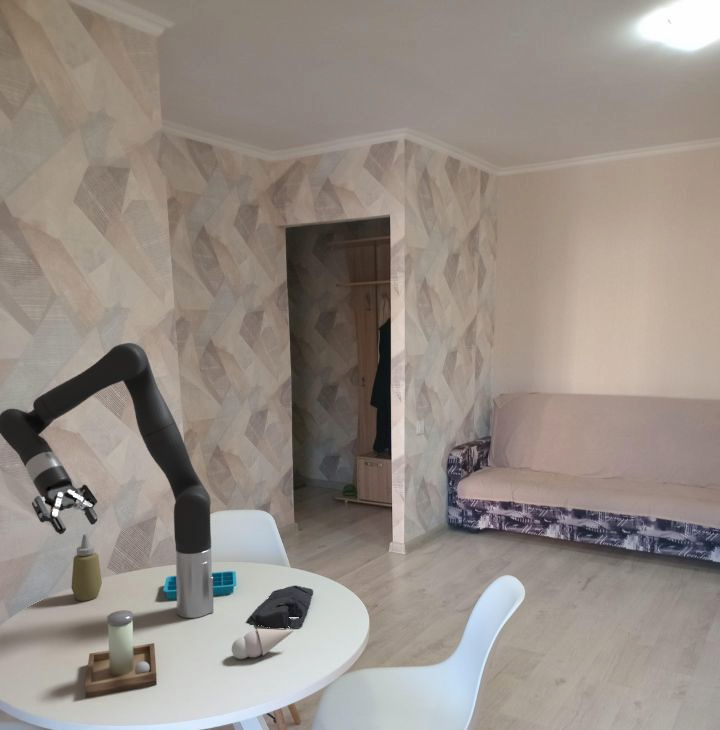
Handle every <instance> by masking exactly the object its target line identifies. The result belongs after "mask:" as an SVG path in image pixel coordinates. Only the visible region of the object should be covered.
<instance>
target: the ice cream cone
mask: <svg viewBox="0 0 720 730" xmlns="http://www.w3.org/2000/svg"><path fill="white" fill-rule="evenodd" d="M293 632H295V629H294V630H293V629H271V628H256V630H254V631H253V630H252V631H249V632H247V633H246V634H245V635H244V636H243V637H239V638H236V639H235V640H234V641H233V643H232V645H231V654H232V655H233V657H235V659H238V660H244V659H247V658H251V659H252V658H257V657H259V656H260V655H262V656H265V655H266V654H267V653H268V652H270V651H271V650H272V649H273V648H275V647H276V646H277V645H278V644H279V643H281V642H282V641H283V640H285V639H286V638H288V637H289V636H290V635H291V634H292V633H293Z"/></svg>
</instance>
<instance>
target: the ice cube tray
mask: <svg viewBox="0 0 720 730" xmlns="http://www.w3.org/2000/svg"><path fill="white" fill-rule="evenodd" d="M212 577H213V595H215V596H224V595H223V594H226V595H231V593H232V594H233V593H234V592H235V591H234V587H236V586H237V572H236V571H235V570H227V571H216V572H212ZM163 593H166V599H167V600H177V583H176V575H170V576H167V577H165V581H164V586H163Z"/></svg>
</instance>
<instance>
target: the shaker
mask: <svg viewBox="0 0 720 730" xmlns="http://www.w3.org/2000/svg"><path fill="white" fill-rule="evenodd" d="M133 621H134V613H133V611H131V610H129V609H128V610H125V609H124V610H118V611H114V612H111V613H110V614H109V615H108V616H107V630H108V631H107V632H108V651H109V670H110V674H111V675H114V676H121V675H125V674H128V673H130V672H131V671H132V670H133V669H134V657H133V646H134V627H133V625H134V623H133Z"/></svg>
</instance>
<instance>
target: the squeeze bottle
mask: <svg viewBox="0 0 720 730" xmlns="http://www.w3.org/2000/svg"><path fill="white" fill-rule="evenodd" d="M99 559H100V558H99V554H98V553H96V552H95V545H93V544H91V542H90V538H89V534H86V533H85V534H83V535H82V539H81V544H80V546H79V547H77V548H76V555H75V556H74V557H73V563H72V576H71V587H70V588H71V590H72V593H73V595H74V598H75V600H77V601H80V602H81V601H82V602H85V601H91V600H93V599H94V600H95V599H96V598H97V597H98V596H99V594H100V590H101V587H102V584H103V581H102V573H101V565H100V560H99Z"/></svg>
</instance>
